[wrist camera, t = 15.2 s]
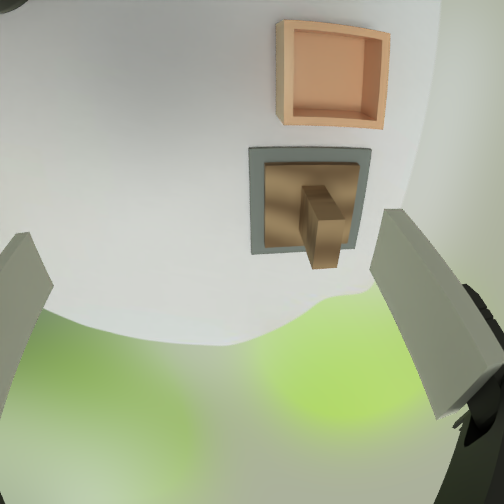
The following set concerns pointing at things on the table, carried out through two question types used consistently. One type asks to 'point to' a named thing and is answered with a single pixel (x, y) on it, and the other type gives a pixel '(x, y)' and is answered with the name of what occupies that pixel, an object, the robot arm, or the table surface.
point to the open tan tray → (331, 74)
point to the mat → (301, 155)
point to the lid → (310, 207)
